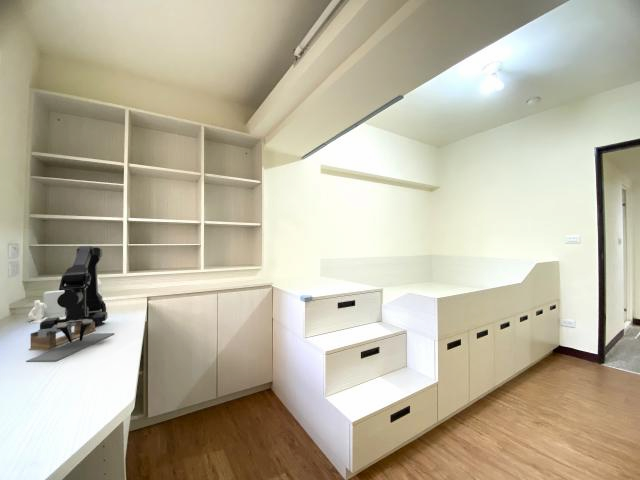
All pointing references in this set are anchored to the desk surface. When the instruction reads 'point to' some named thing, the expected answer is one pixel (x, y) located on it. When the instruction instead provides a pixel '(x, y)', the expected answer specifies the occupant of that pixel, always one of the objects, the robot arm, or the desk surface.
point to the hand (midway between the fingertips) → (76, 341)
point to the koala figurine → (37, 311)
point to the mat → (70, 348)
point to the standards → (54, 342)
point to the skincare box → (53, 304)
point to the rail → (54, 329)
